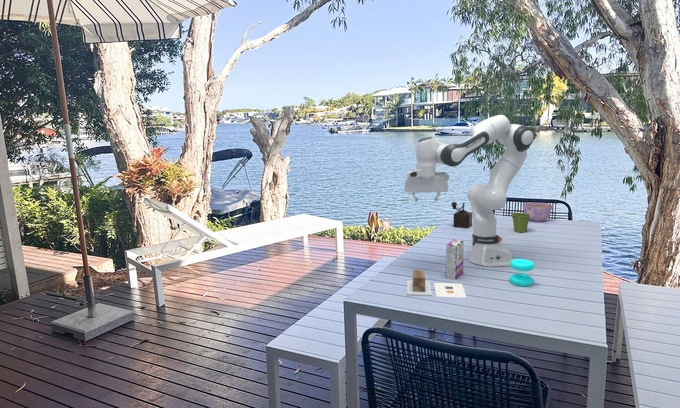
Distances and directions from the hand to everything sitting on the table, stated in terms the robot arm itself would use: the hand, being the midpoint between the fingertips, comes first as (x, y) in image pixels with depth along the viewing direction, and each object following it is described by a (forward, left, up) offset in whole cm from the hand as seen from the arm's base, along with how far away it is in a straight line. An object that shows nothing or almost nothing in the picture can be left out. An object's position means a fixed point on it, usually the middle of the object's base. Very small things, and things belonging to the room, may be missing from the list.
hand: (426, 201), depth 209 cm
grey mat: (+4, +26, -34) cm, 43 cm away
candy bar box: (-13, +7, -34) cm, 37 cm away
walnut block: (+4, +26, -33) cm, 42 cm away
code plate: (-9, +26, -34) cm, 44 cm away
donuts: (-41, +14, -34) cm, 55 cm away
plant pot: (-64, -84, -34) cm, 111 cm away
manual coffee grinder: (-28, -95, -34) cm, 104 cm away
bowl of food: (-83, -118, -34) cm, 148 cm away
